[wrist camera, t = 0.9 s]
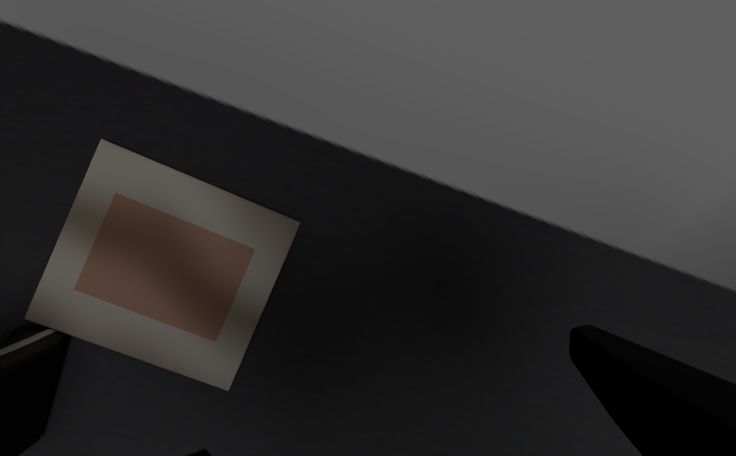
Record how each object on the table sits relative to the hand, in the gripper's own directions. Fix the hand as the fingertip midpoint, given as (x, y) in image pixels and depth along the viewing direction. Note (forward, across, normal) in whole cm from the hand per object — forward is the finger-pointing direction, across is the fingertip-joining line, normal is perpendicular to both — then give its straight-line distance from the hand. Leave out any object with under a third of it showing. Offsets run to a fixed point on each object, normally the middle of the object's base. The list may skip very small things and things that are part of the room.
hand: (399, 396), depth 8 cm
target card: (+14, +10, +2) cm, 18 cm away
